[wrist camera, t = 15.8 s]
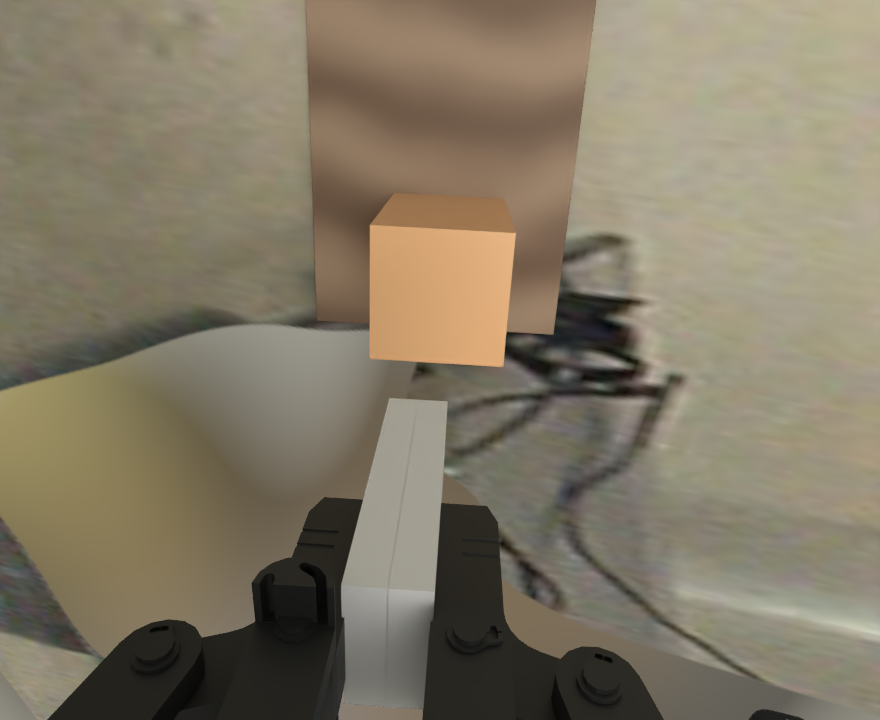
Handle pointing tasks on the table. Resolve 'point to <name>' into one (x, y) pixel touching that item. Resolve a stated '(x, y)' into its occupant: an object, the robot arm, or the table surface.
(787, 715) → the remote control
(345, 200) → the walnut board
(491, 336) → the upright tan block
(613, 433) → the table surface
